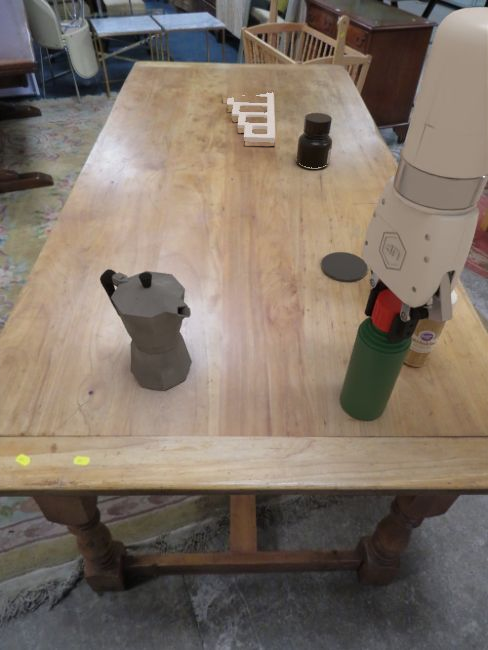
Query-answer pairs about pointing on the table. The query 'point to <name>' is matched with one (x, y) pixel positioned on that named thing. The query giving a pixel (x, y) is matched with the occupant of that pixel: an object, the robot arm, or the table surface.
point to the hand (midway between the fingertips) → (387, 324)
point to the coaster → (344, 267)
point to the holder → (250, 126)
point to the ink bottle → (315, 141)
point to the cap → (385, 309)
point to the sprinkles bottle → (425, 338)
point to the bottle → (372, 372)
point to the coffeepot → (152, 325)
